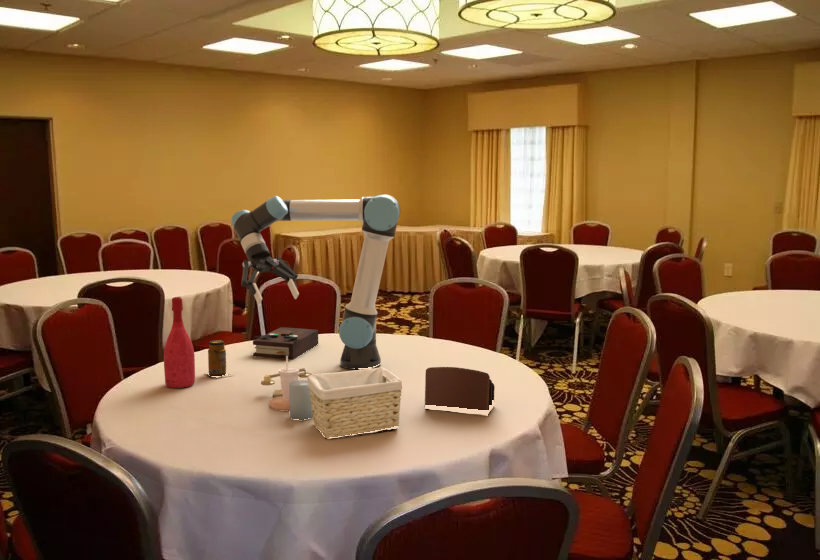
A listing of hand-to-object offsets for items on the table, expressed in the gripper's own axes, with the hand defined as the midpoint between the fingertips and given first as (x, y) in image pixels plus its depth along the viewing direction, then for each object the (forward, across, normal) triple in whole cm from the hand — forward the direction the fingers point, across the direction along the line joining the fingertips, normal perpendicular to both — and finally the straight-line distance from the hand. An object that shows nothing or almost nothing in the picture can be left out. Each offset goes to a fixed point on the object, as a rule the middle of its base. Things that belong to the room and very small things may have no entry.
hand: (279, 299), depth 235 cm
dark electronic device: (-8, -26, -52) cm, 59 cm away
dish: (+33, +7, -9) cm, 35 cm away
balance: (+27, +3, -16) cm, 31 cm away
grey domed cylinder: (+42, +10, -1) cm, 43 cm away
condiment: (+2, +10, -40) cm, 42 cm away
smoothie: (+32, +7, -8) cm, 34 cm away
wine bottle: (+5, +26, -37) cm, 46 cm away
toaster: (+59, -33, +15) cm, 69 cm away
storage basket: (+54, +2, +11) cm, 55 cm away
